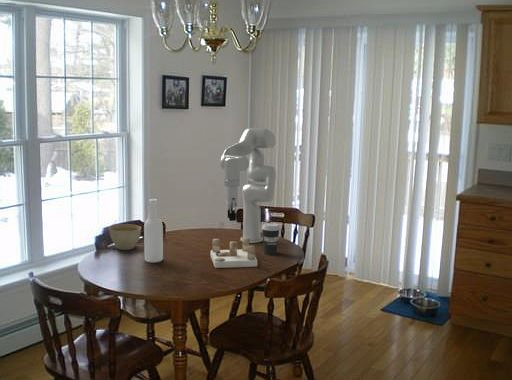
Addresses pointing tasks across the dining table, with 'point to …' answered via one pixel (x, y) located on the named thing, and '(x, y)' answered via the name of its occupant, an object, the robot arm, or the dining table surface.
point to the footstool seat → (232, 260)
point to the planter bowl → (125, 236)
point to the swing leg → (232, 250)
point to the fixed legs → (245, 247)
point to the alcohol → (153, 235)
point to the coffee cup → (270, 238)
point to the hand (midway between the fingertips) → (231, 218)
